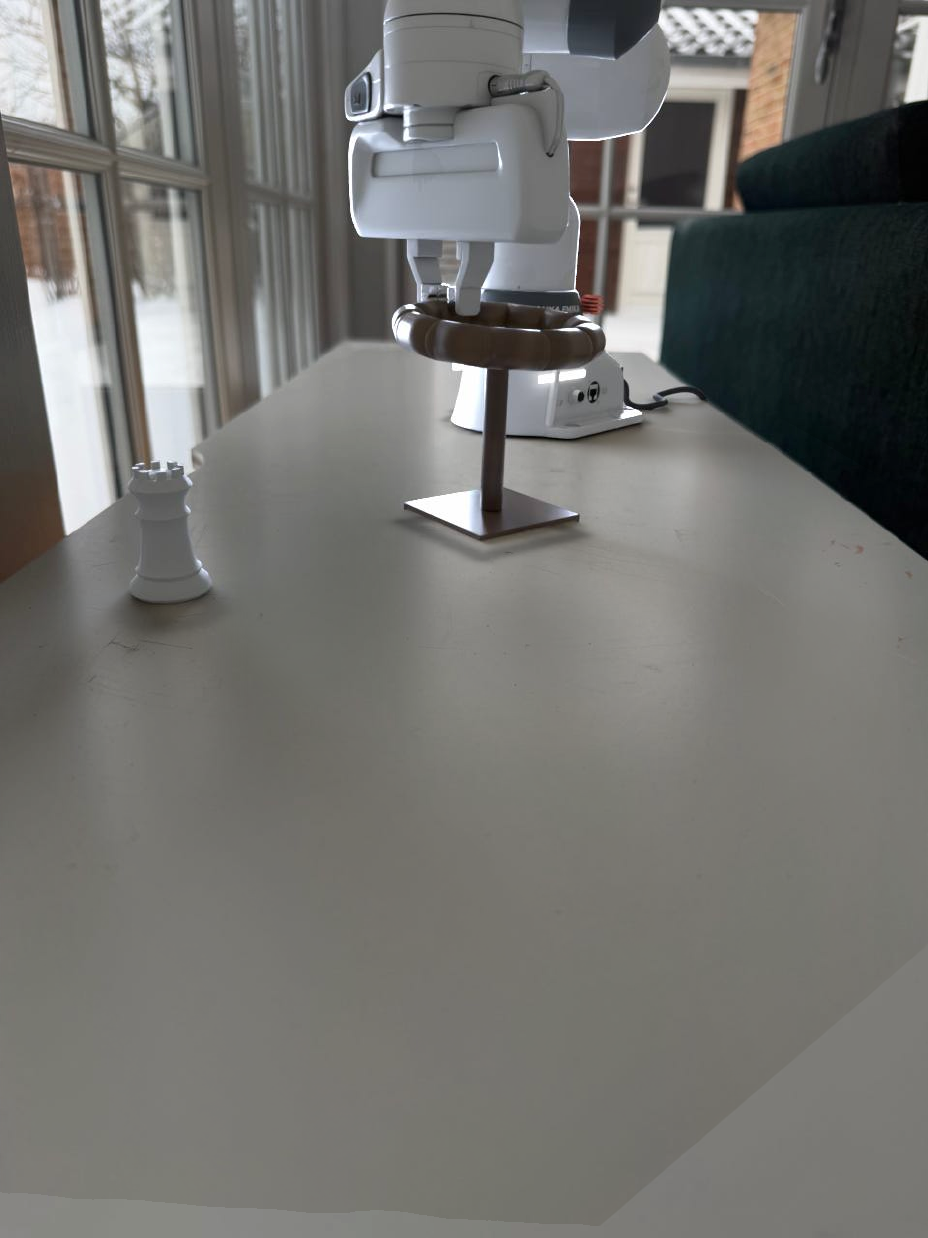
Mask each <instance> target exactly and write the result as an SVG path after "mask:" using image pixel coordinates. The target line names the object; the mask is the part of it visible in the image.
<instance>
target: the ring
mask: <svg viewBox="0 0 928 1238" xmlns="http://www.w3.org/2000/svg"><path fill="white" fill-rule="evenodd" d="M448 301H449V300H428V301H422V302H418V303H417V302H414V303H408V304H404V305H402V306H400V307H399V308H398V309H397V310H396V311H394V314H393V316H392V319H391V328H392V331H393V334H394V338H395V341H396V343H397V344H398V345H399V346H400V347H401V348H402V349H404V350H406V351H408V352H411V353H414V354H416V355H420V356H423V357H425V358H428V359H431V360H434V361H438V362H443V363H449V364H453V363H454V364H460V365H466V366H473V367H479V368H485V369H502V370H520V371H550V370H563V369H575V368H580V367H582V366H584V365H586V364H588V363H589V362H591V361H593V360H595V359H597V358H598V357H599V356H600V355H601V354H602V353H603V351H604V349H605V350H606V345H607V338H606V333H605V332H604V330H603V329H602V328H601V327H600V326H599V325H598V324H597V323H594V322H593V321H591V320H590V319H588V318H587V317H585V316H584V315H583V316H584V317H583V316H579V315H575V314H571V313H567V312H562V311H558V310H554V309H550V308H543V307H536V306H528V305H521V304H514V303H504V302H489V301H480V311H479V313H478V314H477V315H469V316H463V315H456V314H451V313H450V312H449V311H448V309H447V303H448Z"/></svg>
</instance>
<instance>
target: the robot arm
mask: <svg viewBox="0 0 928 1238" xmlns="http://www.w3.org/2000/svg"><path fill="white" fill-rule="evenodd" d="M665 1H666V0H387V2H386V5H385V9H384V14H383V48H379V49H378V51H376V53H375V54H374V56H373V58H372V59H371V61H369V63H368V64H367V65H366V67H365V68H364V69H363V70H362V71H361V72H360V73H359V74H358V75H357V76H356V77H354V79H352V81H350V83H349V84H348V85H347V87H346V88H345V91H344V112H345V117H346V118H347V120H349V121H351V122H358V123H357V124H356V125H355V126H354V128H353V129H352V132H351V134H350V138H349V144H348V185H349V203H350V215H351V219H352V223H353V224H354V228H355V230H356V232H357V234H358V235H359V236H360V237H362V238H372V239H373V238H375V239H393V240H394V239H395V240H396V239H398V240H399V239H400V240H406V257H407V260H408V264H409V266H410V270H411V272H412V275H413V278H414V281H415V283H416V303H418V302H422V301H428V300H449V301H448V303H447V309H448V311H449V312H450V313H451V314H456V315H463V316H469V315H477V314H478V313H479V311H480V301H489V302H504V303H514V304H521V305H528V306H536V307H543V308H550V309H554V310H558V311H562V312H567V313H571V314H575V315H579V316H583V317H585V316H584V314H585V315H587V314H590V315H593V316H598V315H600V314H601V313H602V311H603V310H604V308H603V307H604V306H605V304H604V302H605V301H604V300H603V297H602V295H598V294H594V295H591V294H589V293H588V294H587V293H586V294H584V295H583V296H582V297H580V295H579V291H577V289H576V281H577V280H576V278H577V277H576V276H577V268H578V267H577V265H578V252H579V239H580V227H581V226H580V225H581V219H580V213H579V210H578V207H577V205H576V203H575V202H574V200H573V198H572V197H571V195H570V194H571V193H570V190H571V189H570V187H571V185H570V184H571V182H570V153H569V151H570V150H569V141H594V142H595V141H602V140H607V139H612V138H619V137H623V136H626V135H632V134H636V133H640V132H643V130H644V129H645V128H646V127H647V126H648V125H649V124H650V123H651V122H652V121H653V120H654V118H655V117H656V115H658V113H659V111H660V109H661V107H662V105H663V103H664V101H665V98H666V96H667V92H668V88H669V85H670V80H671V70H672V69H671V65H672V63H671V53H670V48H669V44H668V42H667V38H666V36H665V34H664V31H663V29H662V28H661V26H660V24H659V21H660V20H659V19H660V15H661V12H662V9H663V8H664V5H665ZM443 241H447V242H448V241H449V242H456V259H457V261H461V263H460V266H459V270H458V273H457V276H456V279H455V282H454V286H450V284H448V283H447V284H446V283H444V282H443V278H442V273H441V267H440V264H439V259H441V258H442V257H443ZM438 258H439V259H438ZM451 368H452V370H453V371H462V374H461V379H460V385H459V389H458V394H457V397H456V402H455V406H454V407H453V408H454V409H453V412H452V415H451V418H450V421H451V423H453V424H454V425H456V426H459V427H461V428H464V429H467V430H473V431H476V432H482V433H483V412H484V386H485V368H479V367H473V366H466V365H460V364H454V363H452V367H451ZM681 393H682V394H683V393H687V394H693V395H695V396H696V397H698V398H699V400H708V398H707V396H706V394H705V392H703V391H702V390H701V389H699V388H697V387H695V386H687V385H685V386H684V385H683V386H676V387H672V388H668V389H665V390H661V391H658V392H655V393H653V394H652V399H653V401H654V402H648V403H636V402H634V401H632V400H631V399H630V385H629V383H628V382H627V380H626V379H625V378H624V366H622V365H620V363H618V361H617V360H616V359H615V358H614V357H613V356H612V355H610V354H609V352H608V351H607V350H606V348H605V349H604V351H603V353H602V354H601V355H600V356H599V357H598V358H597V359H595V360H593V361H591V362H589V363H588V364H586V365H584V366H582V367H580V368H575V369H563V370H550V371H520V370H509V380H508V400H507V420H506V436H507V435H509V436H528V437H529V436H531V437H533V436H534V437H547V438H554V439H567V440H568V439H570V440H571V439H577V438H582V437H586V436H589V435H594V434H598V433H603V432H606V431H611V430H614V429H619V428H622V427H627V426H631V425H635V424H639V423H642V422H643V421H644V419H643V417H644V414H643V413H642V412H641V411H640V410H643V411H644V410H645V411H646V410H647V411H650V410H654V409H658V408H662V407H666V406H668V404H669V401H668V399H667V398H666V397H667V396H671V395H675V394H681Z"/></svg>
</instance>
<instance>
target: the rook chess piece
mask: <svg viewBox="0 0 928 1238" xmlns="http://www.w3.org/2000/svg"><path fill="white" fill-rule="evenodd" d="M149 463H150V469H148V470H147V468H146V463H144V462H140V463H136V464H134V466H132V467H131V470H132V476H131V478H130V480H129V481H128V483H126V484H127V485H126V488H127V490H128V491H129V492H130V493H131V494H132V495H133V496H134V498H135V499H136V500H137V503H138V508H137V510H136V511H135V513H134V515H135V517H136V519H138V520H139V527H140V556H139V562H138V565H137V566H136V567H135V571H136V574H135V576H134V577H132V579H131V580H130V582H129V592H130V595H132V596H133V597H134V598H136V599H138V600H139V601H140V602H145V603H150V604H158V605H159V604H161V605H162V604H164V605H165V604H168V605H169V604H176V603H177V604H178V603H185V602H189V601H192V600H195V599H198V598H200V597H201V596H203V595H205V594H207V593H208V592H209V590H210V588H211V587H212V585H213V582H212V579H211V577H210V575H209V573H208V572H207V570H206V569H204V568H203V563H202V562H201V560H199V559H198V558H197V555H196V553H195V549H194V545H193V541H192V537H191V532H190V529H189V515H190V514H191V512H192V510H191V509H190V508H189V506H187V504H186V503H187V502H186V496H187V493H188V492H189V491H190V489H191V488H192V486H193V485H194V483H193V482H192V480H191V479H190V478H189V477H188V476H187V475H186V474H185V468H184V464H183V463H178V461H175V460H168V461H166V468H161V466H162V465H161V460H150V461H149Z"/></svg>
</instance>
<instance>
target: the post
mask: <svg viewBox="0 0 928 1238" xmlns="http://www.w3.org/2000/svg"><path fill="white" fill-rule="evenodd" d="M508 380H509V370H502V369H485V386H484V412H483V432H482V437H481V438H482V439H481V440H482V441H481V463H480V464H481V467H480V468H481V469H480V488H479V489H472V490H467V491H462V492H456V493H449V494H444V495H439V496H432V497H428V498H427V497H426V498H422V499H417V500H412V501H411V500H410V501H405V502H403V510H404V511H406V510H410V511H412V512H414V513H415V514H419V515H420V516H423V517H425V518H428V519H430V520H432V521H434V522H436V523H438V524H440V525H442V526H445V527H448V528H450V529H452V530H454V531H456V532H459V533H461V534H463V535H466V536H468V537H470V538H473V539H475V540H477V541H480V542H482V541H487V540H490V539H495V538H500V537H504V536H509V535H515V534H518V533H519V534H520V533H523V532H527V531H532V530H536V529H542V528H545V527H551V526H555V525H559V524H565V523H568V522H569V523H570V522H573V521H574V522H577V523H580V520H581V519H580V518H581V515H580V513H577V512H573V511H571V510H568V509H566V508H563V507H561V506H557V505H556V504H552V503H549V502H546V501H543V500H541V499H538V498H535V497H532V496H530V495H527V494H524V493H521V492H518V491H515V490H513V489H510V488H508V487H506V486H504V479H505V478H504V477H505V458H506V437H507V434H506V420H507V400H508Z"/></svg>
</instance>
